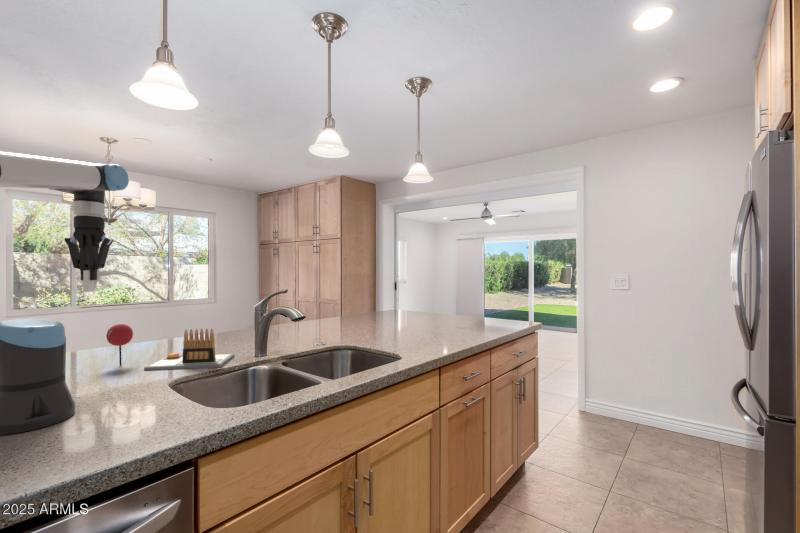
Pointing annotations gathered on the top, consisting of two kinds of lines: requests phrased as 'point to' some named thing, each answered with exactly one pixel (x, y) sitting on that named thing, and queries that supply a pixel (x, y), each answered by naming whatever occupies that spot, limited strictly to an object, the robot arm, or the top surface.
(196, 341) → the ammunition clip
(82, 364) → the top surface
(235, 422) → the top surface
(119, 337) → the lollipop
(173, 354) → the button
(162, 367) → the board
